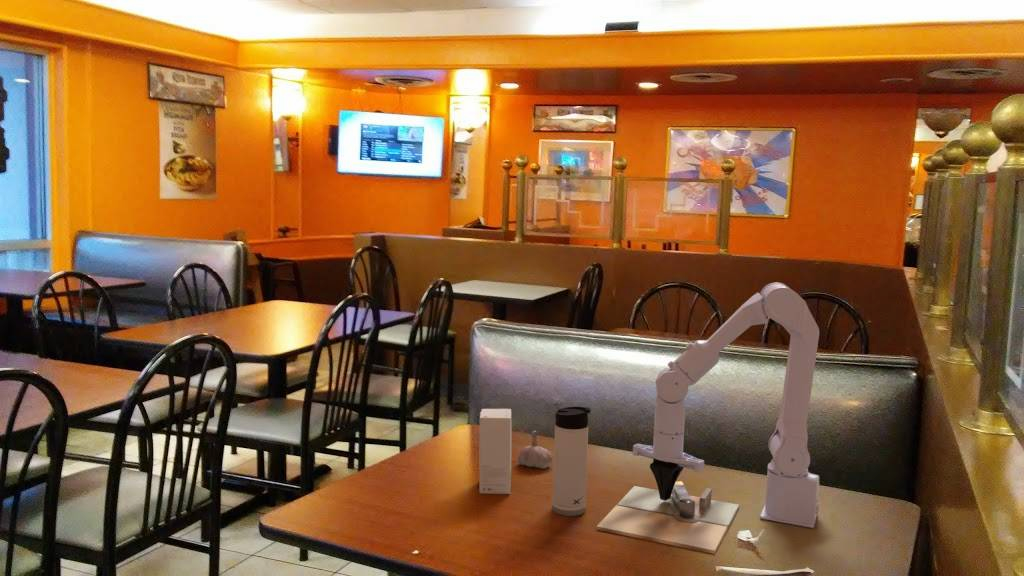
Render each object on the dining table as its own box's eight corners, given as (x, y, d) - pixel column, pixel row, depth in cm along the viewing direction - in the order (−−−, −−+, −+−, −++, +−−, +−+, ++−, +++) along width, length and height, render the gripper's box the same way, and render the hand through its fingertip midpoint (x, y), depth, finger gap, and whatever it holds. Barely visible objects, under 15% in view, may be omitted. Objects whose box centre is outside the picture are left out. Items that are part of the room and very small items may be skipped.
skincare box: (510, 495, 162) (512, 418, 160) (476, 494, 162) (478, 418, 160) (511, 480, 170) (512, 407, 169) (479, 479, 170) (480, 406, 169)
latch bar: (695, 518, 150) (696, 504, 149) (680, 517, 150) (681, 504, 149) (683, 492, 162) (683, 479, 162) (668, 491, 163) (669, 479, 162)
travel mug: (585, 518, 151) (588, 413, 149) (550, 514, 153) (553, 410, 150) (588, 505, 157) (592, 404, 155) (555, 502, 159) (558, 402, 156)
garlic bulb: (511, 464, 181) (512, 429, 180) (537, 458, 185) (537, 424, 184) (532, 474, 175) (533, 438, 174) (558, 468, 179) (559, 432, 178)
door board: (738, 507, 158) (739, 490, 158) (714, 553, 138) (715, 534, 137) (634, 488, 167) (634, 472, 167) (596, 529, 146) (597, 511, 146)
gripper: (713, 434, 155) (709, 503, 157) (647, 419, 165) (643, 484, 166) (695, 442, 150) (691, 513, 152) (628, 425, 159) (625, 492, 161)
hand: (665, 498), depth 158 cm, fingers closed
